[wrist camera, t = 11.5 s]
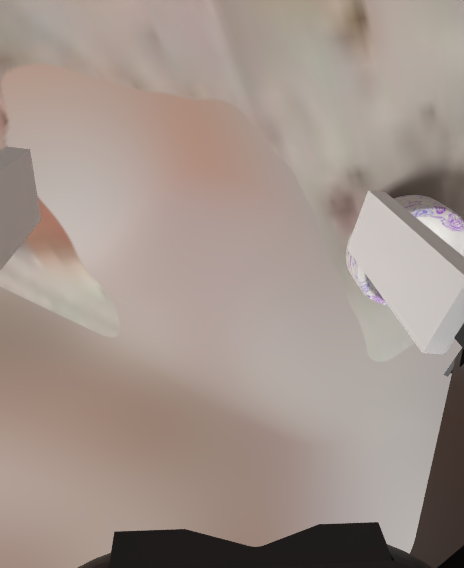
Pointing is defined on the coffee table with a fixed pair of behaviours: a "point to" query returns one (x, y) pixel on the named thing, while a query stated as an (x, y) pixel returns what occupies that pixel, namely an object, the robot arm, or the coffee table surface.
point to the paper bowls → (430, 214)
